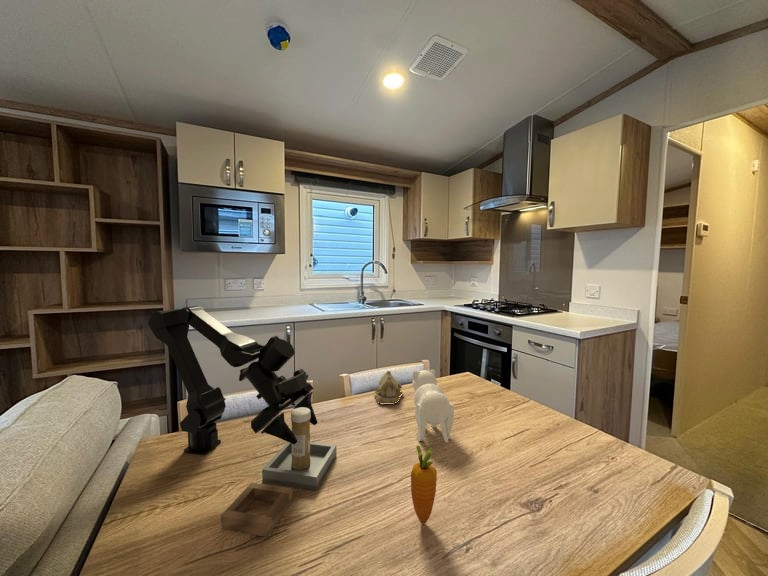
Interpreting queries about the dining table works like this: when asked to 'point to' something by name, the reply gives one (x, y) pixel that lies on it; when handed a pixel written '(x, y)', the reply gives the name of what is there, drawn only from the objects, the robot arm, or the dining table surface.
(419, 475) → the carrot
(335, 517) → the dining table surface
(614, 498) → the dining table surface
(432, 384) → the cat figurine
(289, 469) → the tray
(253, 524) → the holder collar
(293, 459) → the sprinkles bottle
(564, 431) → the dining table surface
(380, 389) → the ceramic model
